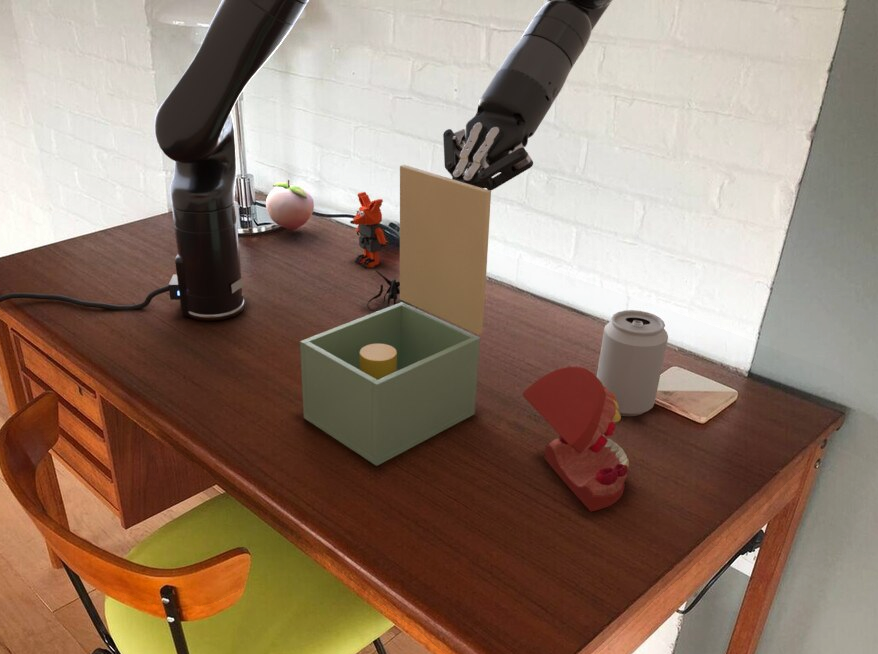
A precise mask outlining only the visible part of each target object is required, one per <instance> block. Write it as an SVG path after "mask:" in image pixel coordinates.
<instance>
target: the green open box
mask: <svg viewBox="0 0 878 654" xmlns="http://www.w3.org/2000/svg"><path fill="white" fill-rule="evenodd" d="M370 344H387V345H390V346H392V347H394V348H395V349H396V351H397V371H396V372H394V373H392V374H390V375H387V376H385V377H383V378H381V379H378V380H377V379H375V378H373V377H371V376H370V375H368V374H366V373H364V372H363V371H361V370H360V350H361V349H362V348H363V347H364V346H366V345H370ZM299 347H300V348H299V349H300V351H299V352H300V370H301V387H302V410H303V419H305V420H306V421H308V422H309V423H311V424H312V425H314V426H315V427H317V428H318V429H320V430H321V431H323V432H324V433H325V434H327V435H328V436H330V437H332V438H333V439H335V440H336V441H338V442H339V443H341V444H343V446H345V447H347V448H348V449H350V450H351V451H353V452H354V453H356V454H358V455H359V456H360V457H362V458H364V459H365V460H367V461H368V462H370V463H371V464H373V465H374V466H376V467H377V466H380V465H381V464H383V463H385V462H387V461H389V460H391V459H393V458H395V457H396V456H399V455H400V454H402V453H404V452H406V451H408V450H410V449H411V448H414V447H415V446H417V445H420V444H421V443H423V442H425V441H427V440H429V439H431V438H433V437H435V436H437V435H438V434H441V433H442V432H444V431H446V430H448V429H449V428H452V427H454V426H455V425H457V424H459V423H461V422H462V421H465V420H466V419H468V418H470V417H472V416H474V415H475V414H476V402H477V401H476V400H477V387H478V373H479V360H480V347H481V337H480V336H477V335H476V334H474V333H472V332H470V331H468V330H467V331H466V330H465V329H462V328H461V327H459V326H457V325H454V324H452V323H450V322H448V321H446V320H444V319H441V318H439V317H437V316H435V315H433V314H430V313H428V312H426V311H424V310H422V309H419V308H417V309H416V307H415V306H413V305H412V306H411V304H408V303H406V302H404V301H403V302H402V301H400V302H398V303H396V304H395V305H393V304H392V305H389V307H384V308H382V309H380V310H378V311H374V312H372V313H369V314H367V315H364V316H362V317H359V318H357V319H354V320H351V321H349V322H346V323H344V324H341V325H338V326H336V327H334V328H330V329H328V330H325V331H322V332H320V333H318V334H315V335H312V336H310V337H307V338H306V339H301V340H300V341H299Z"/></svg>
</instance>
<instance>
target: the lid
mask: <svg viewBox="0 0 878 654" xmlns="http://www.w3.org/2000/svg"><path fill="white" fill-rule="evenodd" d="M491 200H492V190H491V191H490V190H487V188H480V187H477V186H473V185H470V184H467V183H463V182H460V181H457V180H453V179H452V178H451V177H446V176H443V175H441V174H440V175H439V174H437V173H433V172H429V171H426V170H423V169H419V168H416V167H413V166H410V165H406V164H402V165H399V281H400V286H399V290H400V294H399V300H401V301H402V300H403V302H404V303H406V304H408V305H410V306H411V305H412V306H413V307H415V308H416V307H417V309H419V310H421V311H424V312H426V313H428V314H430V315H432V316H435V317H437V318H439V319H441V320H443V321H446V322H448V323H450V324H452V325H454V326H457V327H459V328H461V329H462V328H463V330H465V331H466V330H467V331H468V332H470V333H472V334H474V335H476V336H477V335H478V336H480V335H482V334H484V323H485V320H484V319H485V303H486V301H485V300H486V285H487V267H488V251H489V250H488V249H489V234H490V217H491V202H492V201H491Z"/></svg>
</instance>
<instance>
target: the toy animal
mask: <svg viewBox="0 0 878 654" xmlns="http://www.w3.org/2000/svg"><path fill="white" fill-rule="evenodd" d="M357 198H358V201H359V204H360V207H359V208H357V209H356V214H355V217H353V218H352V220H350V221H349V223H350V224H351V225H356V226H357V227H356V228H355V232H356V234H357V236H358V246H359V247H360V248H362V249H363V253H362V254H358V255H357V257H355V258H356V259H354V263H356V264H358V265H359V264H361V267H363V268H374V267H375V266H377V265H379V264H380V257H379V252H380V251H382V250H383V248H384V247H385V246H386V244H387V239H386V237H385V234H384V225H383V224H382V221H383V214H382V211H381V207H382V205H383V202H384V200H383V198H378V199H373V200H371V198H370V196H369V194H367V193H366V191H361V192H358V193H357Z"/></svg>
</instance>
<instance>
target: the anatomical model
mask: <svg viewBox="0 0 878 654" xmlns="http://www.w3.org/2000/svg"><path fill="white" fill-rule="evenodd" d="M522 397H523V398H524V399H525V400H526V401H527V402H528V403H529V404H530V405H531V406H532V407H533V409H535V411H537V412H538V414H539V415H541V417H542V419H544V421H546V422H547V423H548V424H549V425H550V426H551V428H553V430H554V431H556V432H557V434H558V435H559V437H558V438H555V439H554V440H552V441H551V442H549V443H548V444H546V445H545V449H544V457H543V458H544V460H545V461H546V462H547V463H548V465H549V466H550V467H551V468H552V470H553V471H554V472H555V473H556V475H558V477H559V478H560V479H561V480H562V481H563V483H564V484H565V485H566V486H567V487H568V488H569V490H571V492H572V493H573V494H574V496H576V497H577V499H579V501H581V503H582V504H583V505H584V506H585V507H586V509H588V511H589V512H590V513H592V512H597V511H599V510H603V509H606V508H608V507H610V506H612V505H614V504H615V503H616V502H618V501H619V500H620V499H621V497H622V496H623V494H624V490H625V484H626V483H625V481H626V479H627V477H628V471H629V470H628V468H629V466H630V460H629V458H627V457H628V456H627V454H626V453H625V450H624V449H623V448H622V447H621V446H620V445H619V444H618V443H616V442H615V441H613V440H612V439H610V438H608V437H609V436H613V434H614V431H615V430H616V424H615V423H618V422H620V421H621V418H622V416H620V414H619V412H618V408H619V406H618V404H617V402H616V399H615V396H614V395H613V393H611V392H610V391H608V390H607V389H606V387H605V386H603V384H602V382H601V381H600V380H599V379H598V378H597V375H596V374H595V373H593V372H592V371H591V370H589V369H587V368H585V367H582V366H566V367H562V368H558V369H555V370H553V371H551V372H549V373H546V374H545V375H543V376H542V377H540V378H538V379H537V380H536V381H534V382H533V383H532V384H531V385H530V386H529V387H527V389H525V390H524V391H523V392H522ZM606 436H607V437H606Z"/></svg>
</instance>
